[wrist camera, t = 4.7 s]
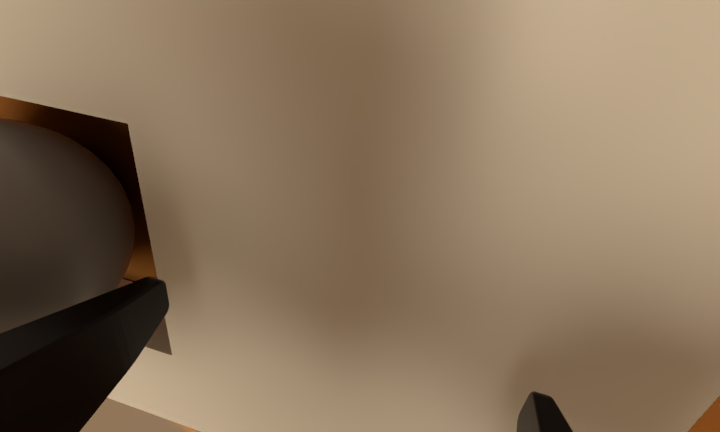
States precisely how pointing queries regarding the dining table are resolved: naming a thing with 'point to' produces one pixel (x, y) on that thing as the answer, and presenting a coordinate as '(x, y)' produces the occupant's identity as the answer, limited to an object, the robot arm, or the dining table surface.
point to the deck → (409, 204)
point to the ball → (57, 224)
